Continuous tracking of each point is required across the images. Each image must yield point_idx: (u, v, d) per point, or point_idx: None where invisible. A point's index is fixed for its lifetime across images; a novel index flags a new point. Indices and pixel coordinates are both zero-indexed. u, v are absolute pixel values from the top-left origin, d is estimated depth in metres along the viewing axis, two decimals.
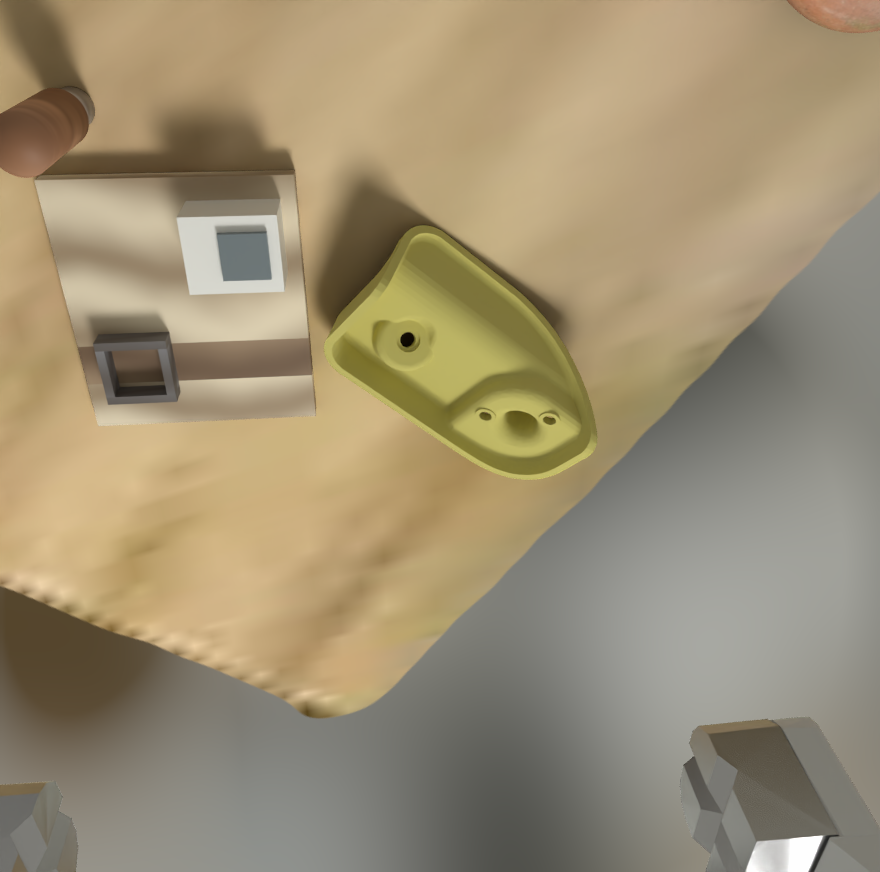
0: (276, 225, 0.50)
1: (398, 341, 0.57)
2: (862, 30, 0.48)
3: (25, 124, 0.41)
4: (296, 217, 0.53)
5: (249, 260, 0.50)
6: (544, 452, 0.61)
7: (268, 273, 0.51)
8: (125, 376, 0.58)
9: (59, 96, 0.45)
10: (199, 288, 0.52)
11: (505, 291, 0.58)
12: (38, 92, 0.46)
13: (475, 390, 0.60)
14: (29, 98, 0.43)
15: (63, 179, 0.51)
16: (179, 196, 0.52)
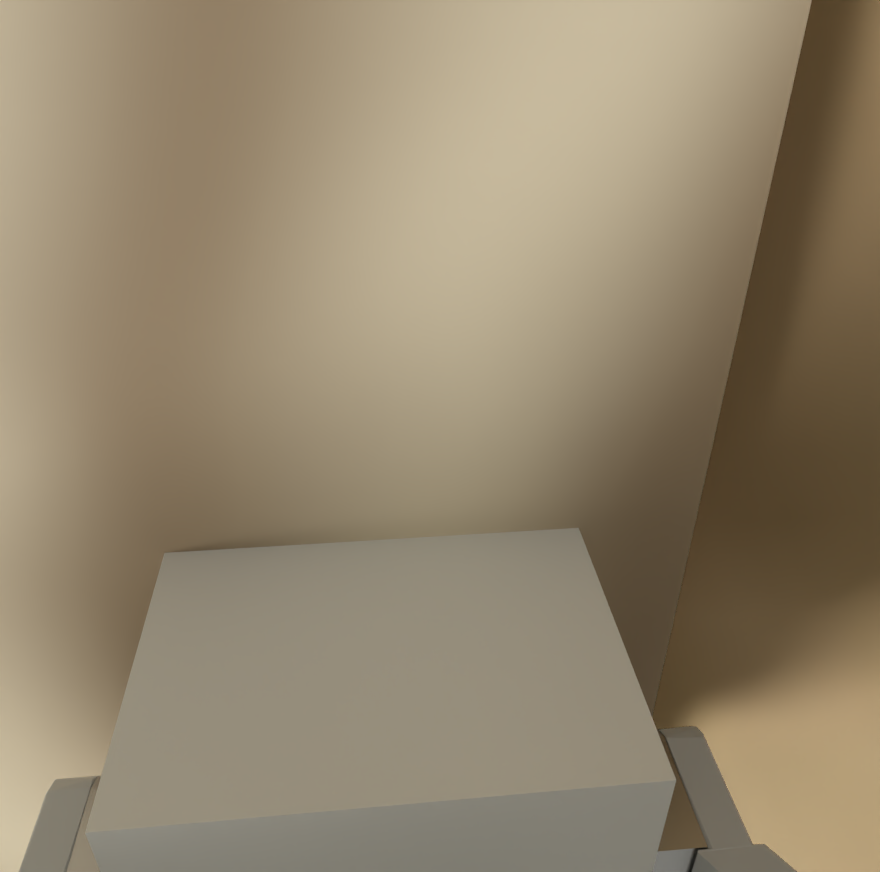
0: None
1: None
2: None
3: None
4: None
5: None
6: None
7: None
8: None
9: None
10: (151, 871, 0.07)
11: None
12: None
13: None
14: None
15: None
16: (605, 504, 0.10)
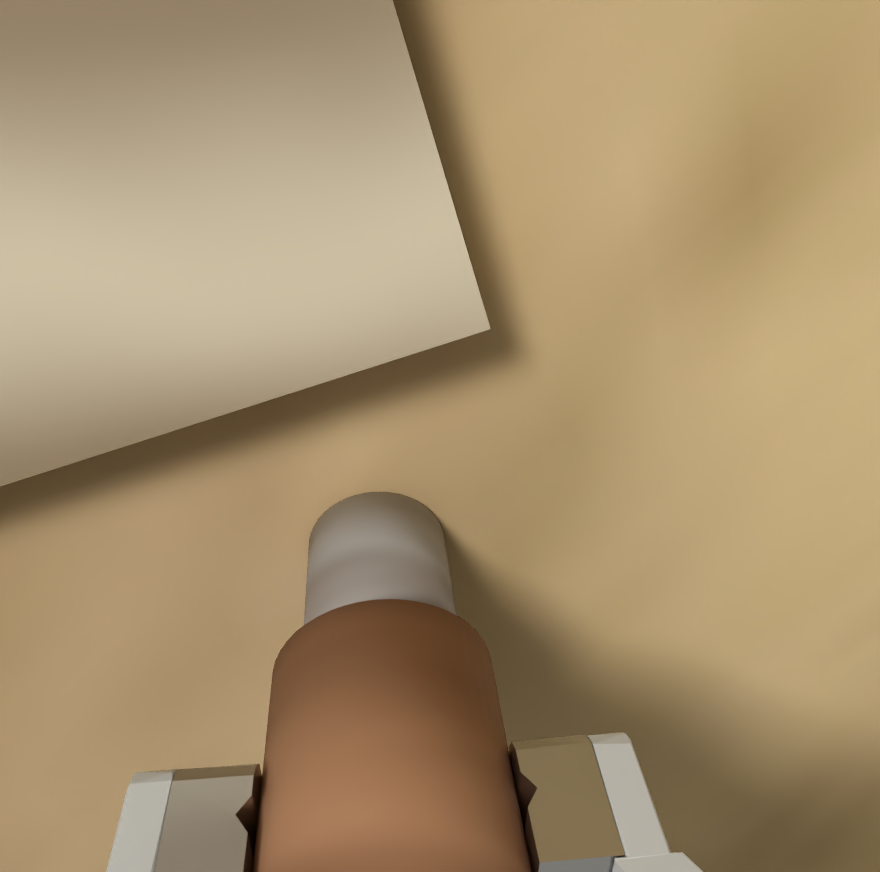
0: None
1: None
2: None
3: None
4: None
5: None
6: None
7: None
8: None
9: None
10: None
11: None
12: None
13: None
14: None
15: None
16: None
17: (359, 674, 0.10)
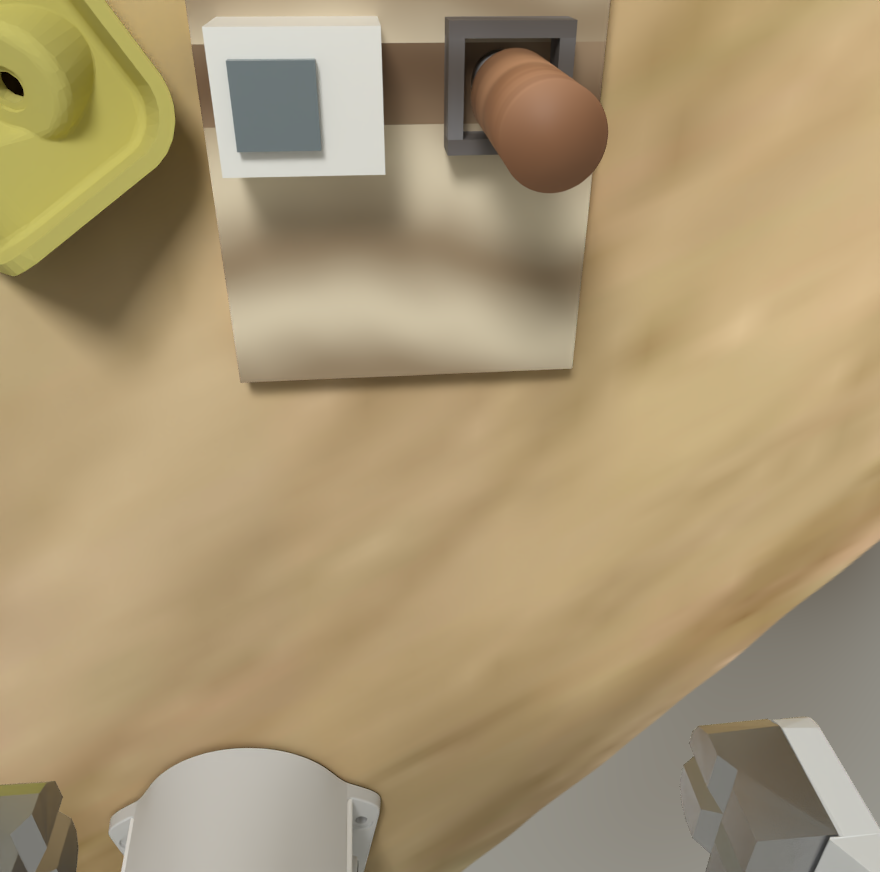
0: (222, 159, 0.29)
1: (27, 94, 0.30)
2: None
3: (541, 177, 0.24)
4: (234, 329, 0.37)
5: (266, 101, 0.28)
6: None
7: (232, 74, 0.28)
8: None
9: None
10: (361, 39, 0.28)
11: None
12: None
13: None
14: None
15: (537, 368, 0.40)
16: (395, 353, 0.38)
17: (514, 53, 0.28)
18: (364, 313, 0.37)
